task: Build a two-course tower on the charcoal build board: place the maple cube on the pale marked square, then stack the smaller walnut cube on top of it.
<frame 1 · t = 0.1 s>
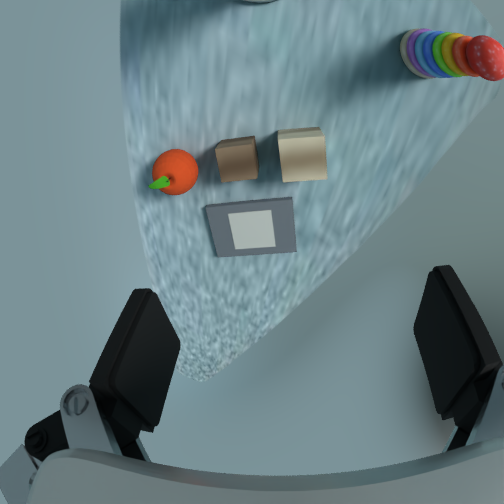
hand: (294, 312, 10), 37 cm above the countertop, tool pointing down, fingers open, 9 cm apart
maple cube: (300, 147, 42), on the countertop
walnut cube: (240, 153, 43), on the countertop
stacking toy: (421, 53, 31), on the countertop
build board: (252, 227, 51), on the countertop
clementine: (179, 165, 45), on the countertop
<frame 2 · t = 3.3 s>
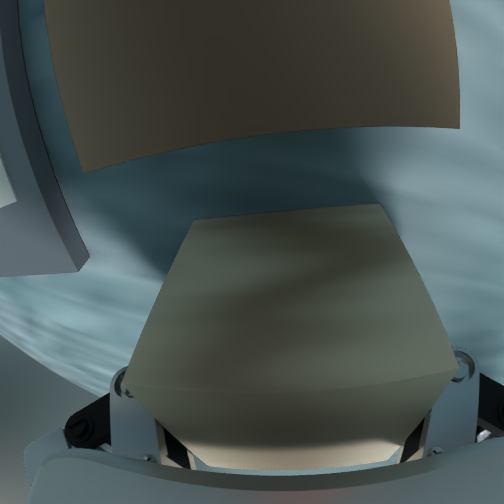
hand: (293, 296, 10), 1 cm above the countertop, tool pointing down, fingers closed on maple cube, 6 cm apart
maple cube: (293, 284, 11), on the countertop, touching gripper
walnut cube: (256, 12, 6), on the countertop
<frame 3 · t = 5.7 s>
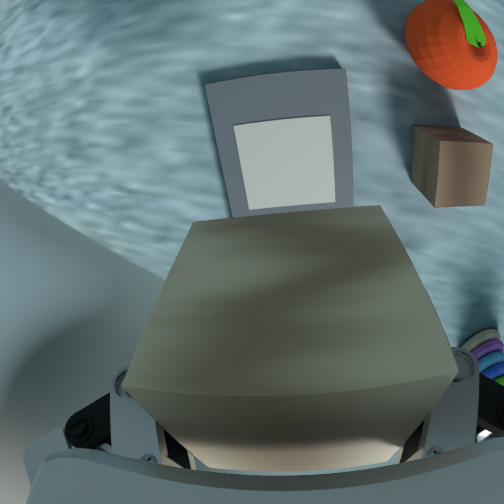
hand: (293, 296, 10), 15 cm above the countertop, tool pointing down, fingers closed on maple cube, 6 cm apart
maple cube: (293, 285, 11), point 14 cm above the countertop, touching gripper
walnut cube: (436, 153, 21), on the countertop
stacking toy: (477, 342, 34), on the countertop
build board: (287, 160, 23), on the countertop
clementine: (426, 38, 15), on the countertop
when the fingers open (3 cm above the countertop, at t = 8.3 s): maple cube drops 1 cm, resting on build board.
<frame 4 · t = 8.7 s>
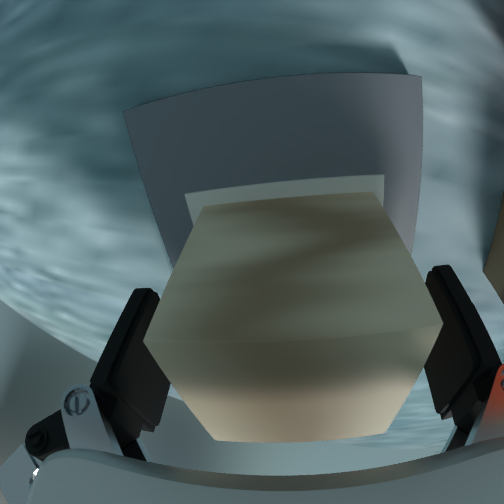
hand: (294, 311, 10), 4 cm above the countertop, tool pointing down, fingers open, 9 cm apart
maple cube: (294, 266, 12), point 1 cm above the countertop, touching build board
build board: (292, 249, 13), on the countertop
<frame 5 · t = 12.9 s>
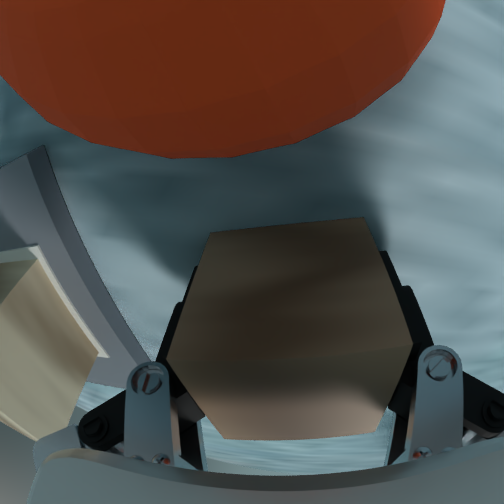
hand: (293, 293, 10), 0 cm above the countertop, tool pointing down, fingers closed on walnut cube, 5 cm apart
maple cube: (33, 309, 12), point 1 cm above the countertop, touching build board
walnut cube: (293, 283, 11), on the countertop, touching gripper
build board: (41, 294, 13), on the countertop
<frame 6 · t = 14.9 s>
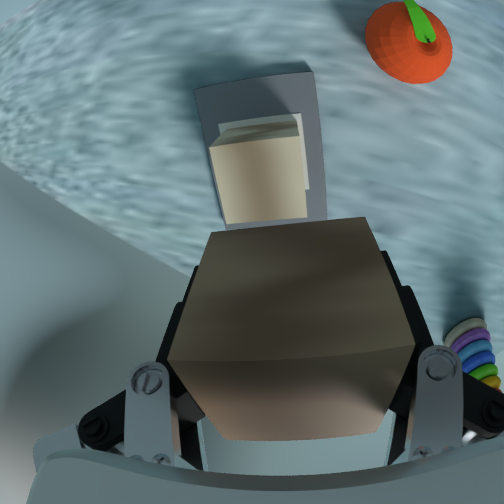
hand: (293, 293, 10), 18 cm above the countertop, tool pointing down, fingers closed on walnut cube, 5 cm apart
maple cube: (266, 157, 25), point 1 cm above the countertop, touching build board
walnut cube: (294, 283, 11), point 18 cm above the countertop, touching gripper
stacking toy: (463, 331, 37), on the countertop
build board: (266, 153, 26), on the countertop
clementine: (391, 39, 18), on the countertop
when the fingers open (8 cm above the countertop, at t = 17.1 s): walnut cube stays where it is, resting on maple cube.
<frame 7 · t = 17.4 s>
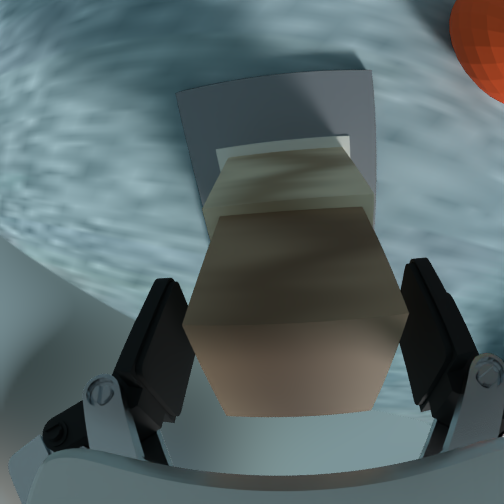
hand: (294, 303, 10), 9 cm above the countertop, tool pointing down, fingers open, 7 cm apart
maple cube: (291, 202, 16), point 1 cm above the countertop, touching build board, walnut cube
walnut cube: (295, 268, 12), point 7 cm above the countertop, touching maple cube
build board: (289, 193, 17), on the countertop
clementine: (470, 35, 10), on the countertop
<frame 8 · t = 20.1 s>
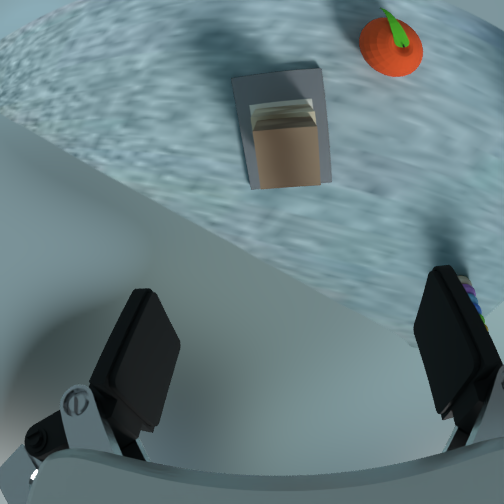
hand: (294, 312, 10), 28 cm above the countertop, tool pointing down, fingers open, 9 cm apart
maple cube: (285, 131, 32), point 1 cm above the countertop, touching build board, walnut cube
walnut cube: (286, 143, 27), point 7 cm above the countertop, touching maple cube
build board: (284, 128, 33), on the countertop
clementine: (379, 44, 25), on the countertop
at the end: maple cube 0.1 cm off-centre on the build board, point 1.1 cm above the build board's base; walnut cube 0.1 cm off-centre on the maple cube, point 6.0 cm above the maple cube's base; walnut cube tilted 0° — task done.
